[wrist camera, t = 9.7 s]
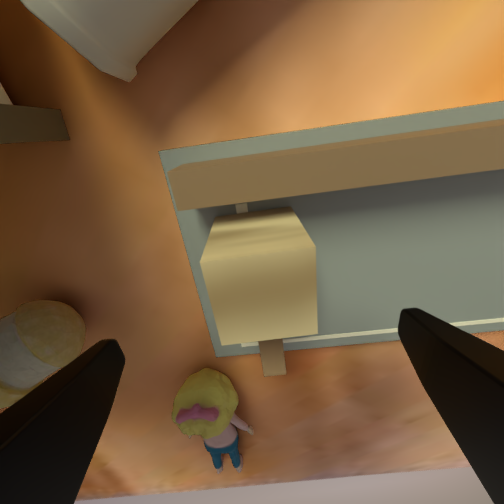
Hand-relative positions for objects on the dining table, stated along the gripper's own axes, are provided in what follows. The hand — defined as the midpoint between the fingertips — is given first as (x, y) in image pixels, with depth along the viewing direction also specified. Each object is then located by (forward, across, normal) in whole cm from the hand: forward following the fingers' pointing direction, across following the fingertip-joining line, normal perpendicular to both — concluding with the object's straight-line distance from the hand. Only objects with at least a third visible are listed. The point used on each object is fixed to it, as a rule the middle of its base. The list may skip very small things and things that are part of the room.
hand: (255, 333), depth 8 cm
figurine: (+8, +5, +17) cm, 20 cm away
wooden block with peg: (+7, 0, +3) cm, 7 cm away
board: (+8, -7, +2) cm, 11 cm away
